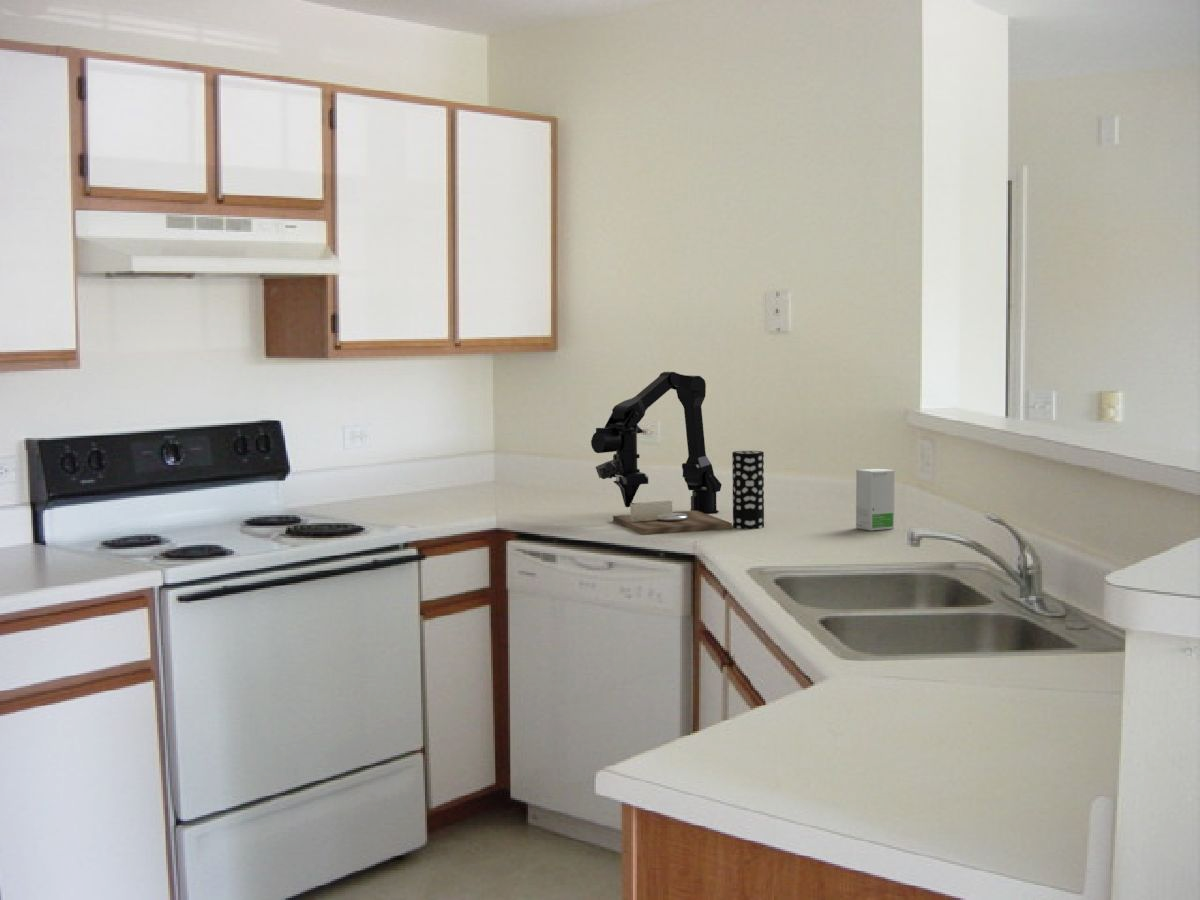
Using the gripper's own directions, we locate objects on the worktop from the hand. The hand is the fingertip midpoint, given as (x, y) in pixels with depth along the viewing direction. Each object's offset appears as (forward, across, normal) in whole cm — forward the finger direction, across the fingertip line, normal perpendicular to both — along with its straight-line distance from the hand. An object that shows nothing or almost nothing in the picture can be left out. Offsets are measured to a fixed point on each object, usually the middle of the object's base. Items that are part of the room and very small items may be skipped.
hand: (627, 507), depth 360 cm
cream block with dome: (+3, +7, +7) cm, 10 cm away
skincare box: (+5, +34, +57) cm, 67 cm away
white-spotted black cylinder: (+5, +18, +28) cm, 34 cm away
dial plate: (+4, +7, +10) cm, 13 cm away
